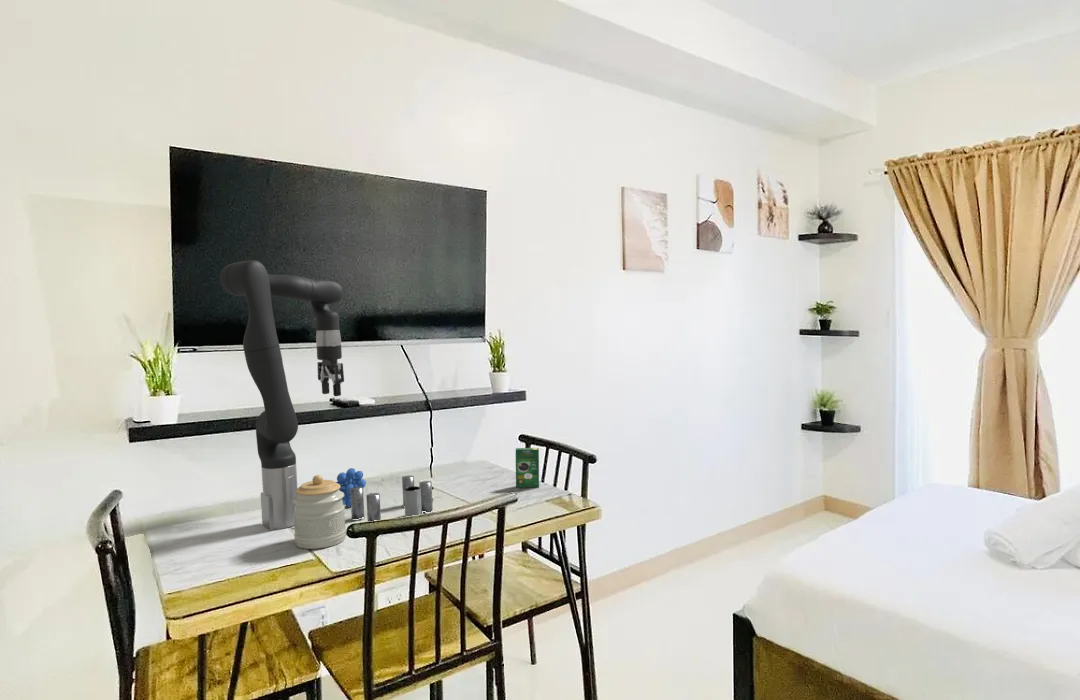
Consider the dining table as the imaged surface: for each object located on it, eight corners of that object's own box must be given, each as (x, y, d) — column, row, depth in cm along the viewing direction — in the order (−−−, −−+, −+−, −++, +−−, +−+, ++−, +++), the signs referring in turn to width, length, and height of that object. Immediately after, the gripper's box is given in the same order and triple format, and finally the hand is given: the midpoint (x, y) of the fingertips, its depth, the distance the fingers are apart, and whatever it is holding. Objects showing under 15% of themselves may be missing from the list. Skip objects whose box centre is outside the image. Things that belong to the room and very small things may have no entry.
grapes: (360, 500, 207) (358, 463, 207) (370, 504, 202) (368, 466, 202) (325, 508, 200) (323, 470, 199) (334, 513, 195) (332, 473, 194)
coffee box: (540, 485, 218) (539, 447, 217) (540, 487, 215) (538, 448, 214) (516, 485, 218) (515, 447, 218) (515, 488, 215) (514, 449, 215)
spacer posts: (371, 529, 178) (370, 497, 178) (349, 518, 188) (348, 488, 188) (435, 512, 192) (433, 482, 192) (411, 503, 202) (410, 474, 202)
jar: (351, 543, 168) (348, 476, 167) (299, 553, 162) (295, 484, 161) (340, 529, 179) (337, 466, 178) (291, 538, 173) (287, 474, 172)
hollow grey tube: (409, 528, 178) (408, 491, 178) (402, 524, 182) (401, 488, 181) (424, 524, 181) (423, 488, 180) (417, 520, 185) (416, 485, 184)
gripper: (308, 344, 209) (311, 394, 210) (327, 345, 198) (329, 398, 199) (330, 343, 214) (333, 392, 215) (349, 344, 203) (352, 395, 204)
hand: (331, 394), depth 207 cm, fingers open, 8 cm apart
